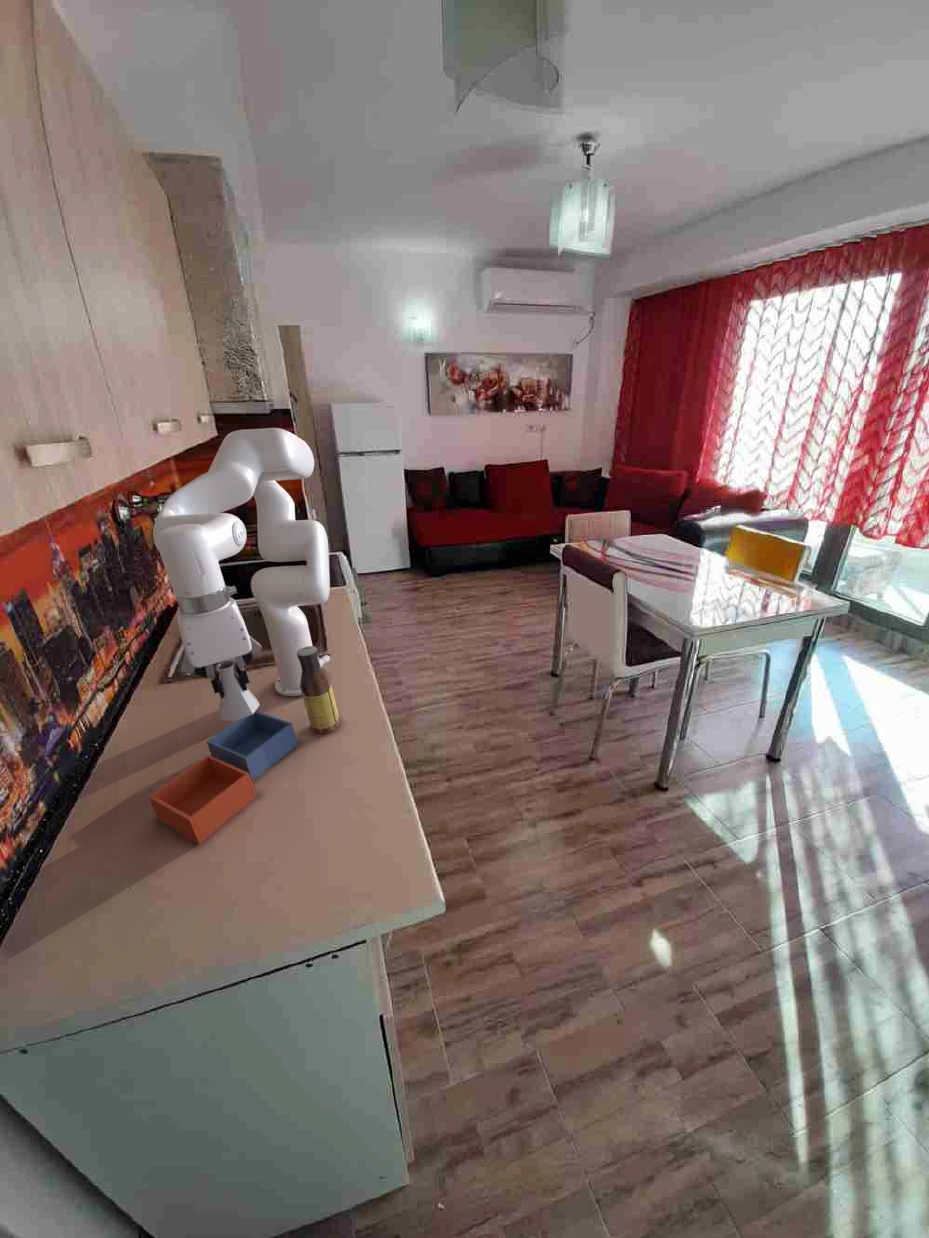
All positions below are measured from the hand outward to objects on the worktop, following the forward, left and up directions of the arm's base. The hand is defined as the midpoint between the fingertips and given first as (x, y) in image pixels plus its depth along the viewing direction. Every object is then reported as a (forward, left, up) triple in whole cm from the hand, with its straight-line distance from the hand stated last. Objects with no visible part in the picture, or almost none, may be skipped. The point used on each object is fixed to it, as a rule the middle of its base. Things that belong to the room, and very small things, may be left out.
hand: (233, 689), depth 87 cm
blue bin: (-3, -4, -19) cm, 19 cm away
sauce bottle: (-16, +3, -19) cm, 25 cm away
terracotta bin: (+11, 0, -19) cm, 22 cm away
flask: (0, 0, -5) cm, 5 cm away
